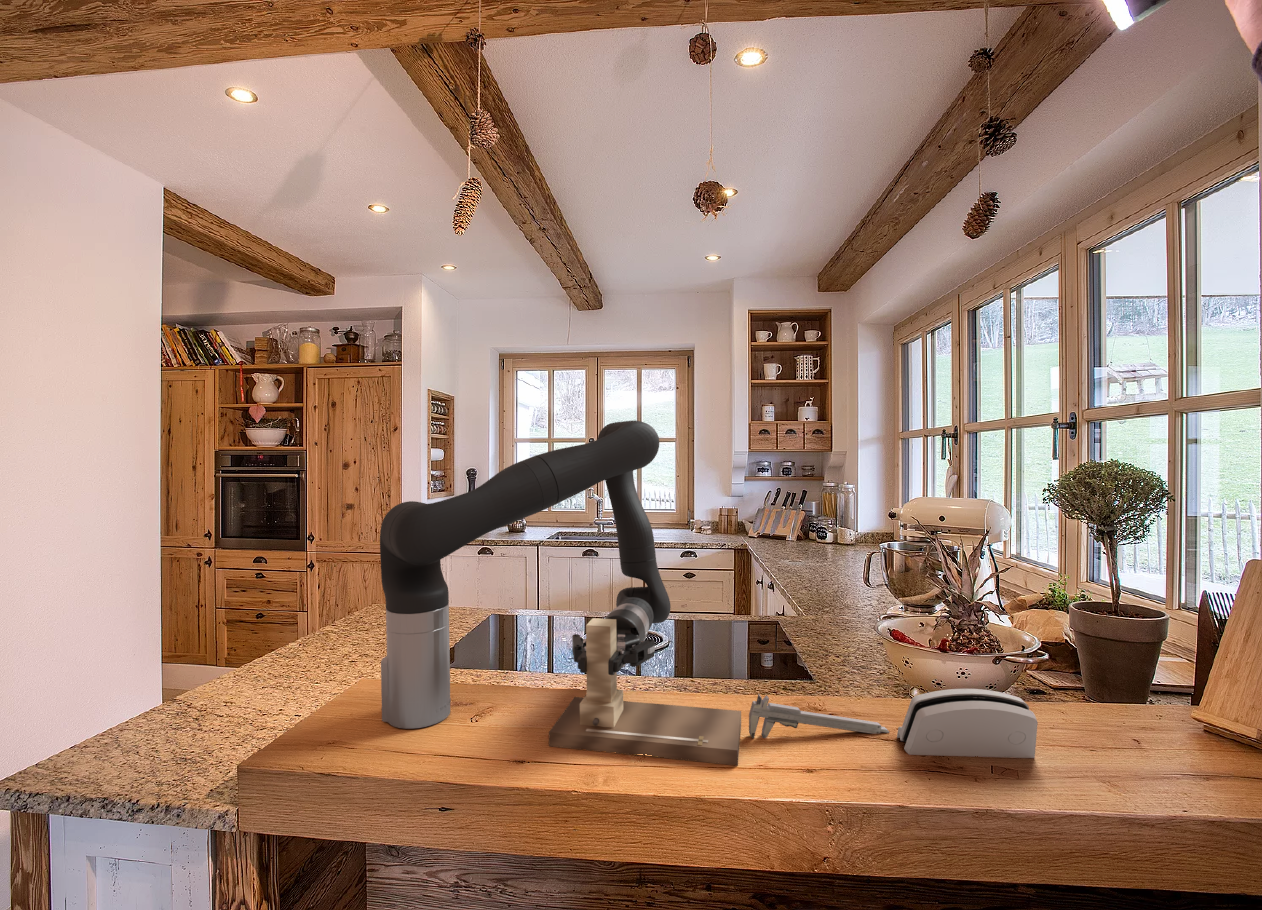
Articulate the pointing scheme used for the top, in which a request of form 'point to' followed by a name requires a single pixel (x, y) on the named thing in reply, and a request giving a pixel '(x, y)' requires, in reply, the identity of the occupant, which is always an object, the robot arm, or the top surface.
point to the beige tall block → (601, 676)
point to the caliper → (803, 719)
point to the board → (656, 732)
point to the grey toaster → (969, 725)
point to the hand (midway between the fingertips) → (596, 667)
